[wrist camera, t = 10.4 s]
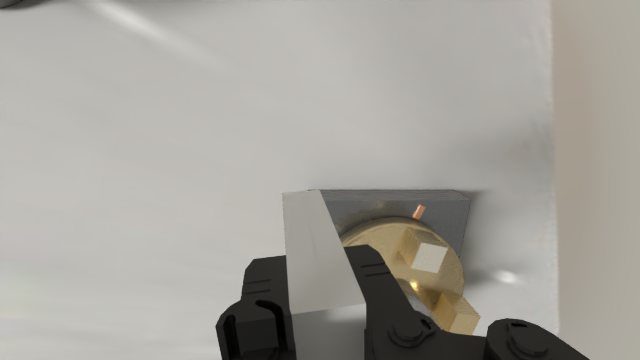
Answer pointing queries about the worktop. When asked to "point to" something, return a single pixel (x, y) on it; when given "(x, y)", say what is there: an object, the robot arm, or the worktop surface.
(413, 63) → the worktop surface
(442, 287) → the ring nut
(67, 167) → the worktop surface
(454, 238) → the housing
